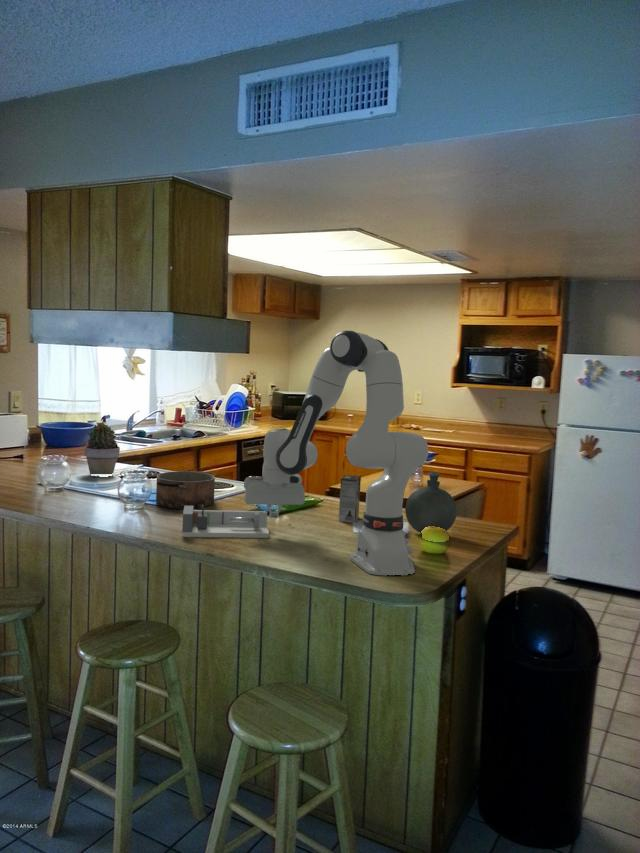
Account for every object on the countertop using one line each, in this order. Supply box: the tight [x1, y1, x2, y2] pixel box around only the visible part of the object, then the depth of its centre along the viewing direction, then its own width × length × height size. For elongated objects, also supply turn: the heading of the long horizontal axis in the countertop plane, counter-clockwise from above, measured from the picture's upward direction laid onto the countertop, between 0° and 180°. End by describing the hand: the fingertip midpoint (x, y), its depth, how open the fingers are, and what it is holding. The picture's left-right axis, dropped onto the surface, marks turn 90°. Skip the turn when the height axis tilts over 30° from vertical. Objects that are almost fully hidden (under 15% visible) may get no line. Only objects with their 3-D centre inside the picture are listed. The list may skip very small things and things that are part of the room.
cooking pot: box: [155, 470, 216, 510], centre depth 271 cm, size 30×22×11 cm
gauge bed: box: [181, 506, 270, 539], centre depth 230 cm, size 12×28×8 cm, turn 99°
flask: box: [404, 471, 458, 534], centre depth 242 cm, size 12×17×22 cm
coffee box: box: [338, 474, 362, 523], centre depth 258 cm, size 9×6×16 cm
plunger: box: [230, 510, 260, 530], centre depth 231 cm, size 6×10×5 cm, turn 99°
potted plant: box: [83, 422, 121, 475], centre depth 316 cm, size 18×20×25 cm
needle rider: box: [197, 505, 207, 529], centre depth 229 cm, size 5×3×7 cm, turn 9°
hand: (273, 517), depth 232 cm, fingers closed
